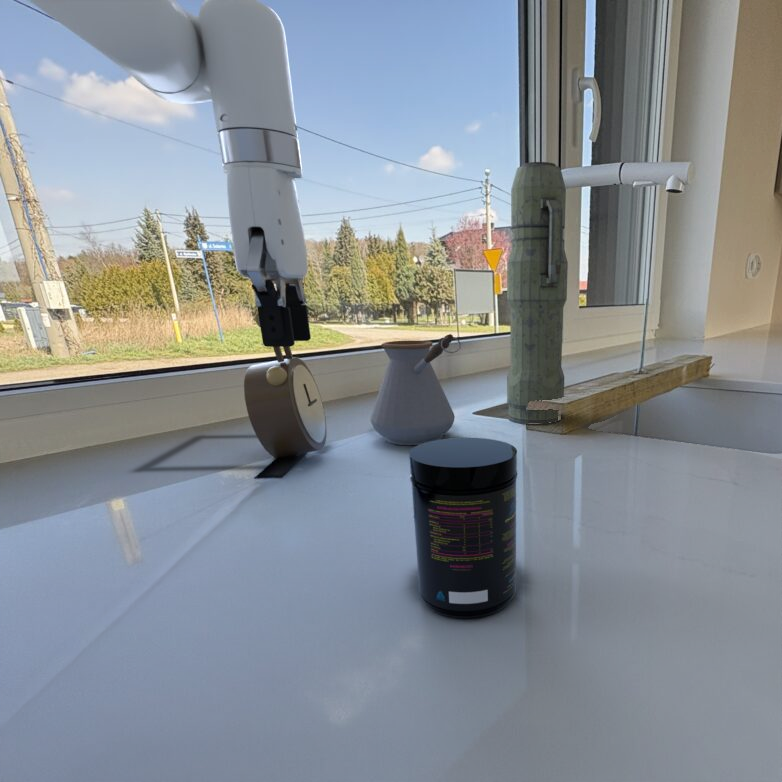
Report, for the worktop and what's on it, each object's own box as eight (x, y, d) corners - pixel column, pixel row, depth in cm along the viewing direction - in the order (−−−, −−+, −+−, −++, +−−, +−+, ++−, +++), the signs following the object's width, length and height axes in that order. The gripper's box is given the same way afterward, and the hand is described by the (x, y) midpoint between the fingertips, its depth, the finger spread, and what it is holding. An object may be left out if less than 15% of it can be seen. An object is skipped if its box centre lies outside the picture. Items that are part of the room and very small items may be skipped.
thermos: (539, 408, 97) (543, 174, 84) (579, 422, 88) (590, 161, 75) (493, 414, 93) (490, 169, 80) (530, 429, 84) (533, 154, 71)
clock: (213, 319, 58) (263, 309, 58) (252, 314, 68) (295, 305, 68) (267, 469, 64) (313, 461, 64) (296, 444, 74) (335, 436, 74)
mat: (142, 480, 62) (141, 477, 62) (200, 446, 75) (199, 443, 75) (282, 477, 63) (281, 474, 63) (315, 444, 76) (314, 441, 76)
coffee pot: (363, 433, 81) (351, 324, 76) (438, 425, 86) (433, 321, 81) (409, 475, 64) (399, 336, 58) (501, 461, 69) (500, 332, 63)
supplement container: (506, 569, 43) (505, 434, 39) (527, 616, 37) (528, 463, 33) (416, 578, 42) (406, 440, 38) (422, 629, 36) (411, 470, 32)
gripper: (254, 173, 65) (279, 336, 72) (183, 138, 49) (223, 352, 56) (320, 174, 66) (338, 336, 73) (271, 139, 50) (300, 351, 57)
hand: (288, 341), depth 64 cm, fingers closed on clock, 5 cm apart
